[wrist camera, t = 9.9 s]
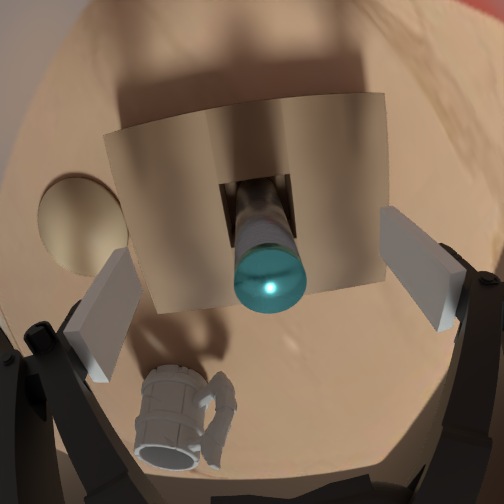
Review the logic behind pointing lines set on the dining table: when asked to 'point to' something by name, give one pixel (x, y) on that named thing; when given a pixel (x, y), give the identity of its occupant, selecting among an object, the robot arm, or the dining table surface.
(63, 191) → the coaster
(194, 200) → the hole board
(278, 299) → the peg
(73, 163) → the dining table surface
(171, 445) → the mug
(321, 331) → the dining table surface
